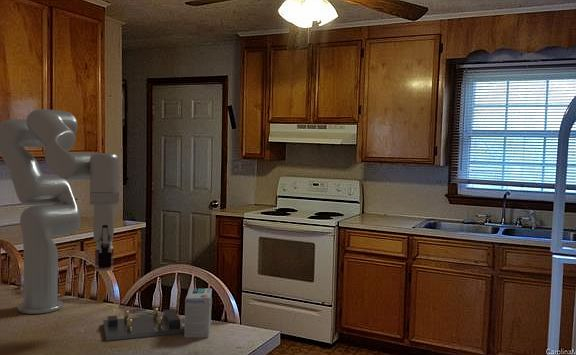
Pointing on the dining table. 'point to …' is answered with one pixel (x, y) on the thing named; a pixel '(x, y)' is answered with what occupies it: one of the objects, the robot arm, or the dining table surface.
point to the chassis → (142, 325)
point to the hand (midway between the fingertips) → (104, 264)
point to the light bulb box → (198, 313)
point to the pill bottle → (97, 257)
